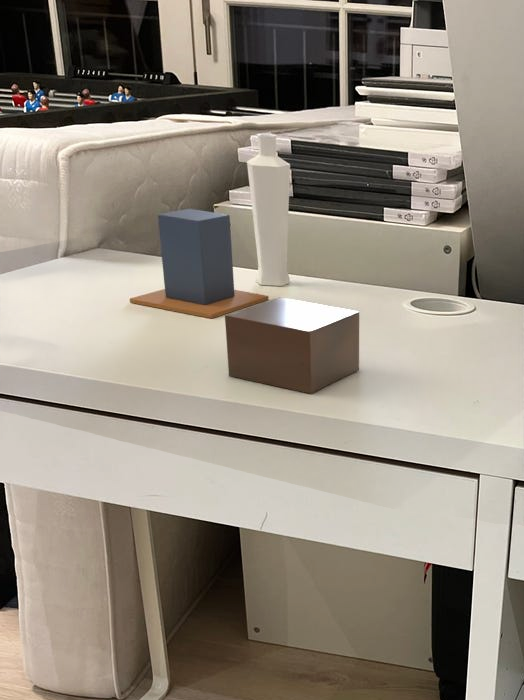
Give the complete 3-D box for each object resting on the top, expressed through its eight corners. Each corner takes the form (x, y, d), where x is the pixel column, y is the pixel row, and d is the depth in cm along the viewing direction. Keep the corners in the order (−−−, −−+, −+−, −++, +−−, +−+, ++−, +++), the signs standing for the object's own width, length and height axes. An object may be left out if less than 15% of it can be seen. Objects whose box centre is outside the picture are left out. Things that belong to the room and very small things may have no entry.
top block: (205, 305, 99) (199, 220, 95) (165, 297, 100) (157, 214, 96) (235, 296, 103) (229, 214, 99) (195, 289, 104) (189, 208, 100)
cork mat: (211, 318, 96) (211, 314, 96) (129, 302, 99) (129, 298, 99) (268, 299, 104) (268, 295, 104) (191, 285, 107) (191, 281, 107)
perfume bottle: (265, 288, 108) (258, 137, 100) (246, 280, 111) (237, 132, 103) (301, 285, 111) (297, 137, 103) (281, 276, 114) (276, 132, 106)
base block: (311, 394, 79) (309, 331, 77) (228, 376, 82) (224, 315, 79) (359, 370, 86) (359, 311, 83) (281, 354, 88) (279, 296, 85)
